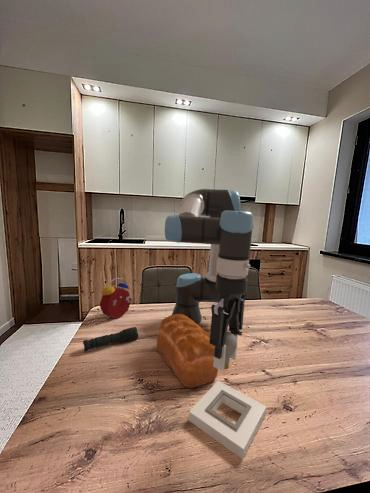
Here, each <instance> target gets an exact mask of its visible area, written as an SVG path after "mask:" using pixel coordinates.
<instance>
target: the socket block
mask: <svg viewBox="0 0 370 493" xmlns="http://www.w3.org/2000/svg"><path fill="white" fill-rule="evenodd" d="M223 404H224V405H226V406H227V407H229V408H230V409H232V410H234V411H236V412H238V413H239V414H241V415H240V416H239V418H238V419H237V421H236V422H235V423H233V422H232V421H231V420H229V419H227V418H226V417H224V416H222V415H221V414H219V413H218V412H217V410H219V408H220V406H222V405H223ZM266 414H267V406H266V405H264V404H262V403H261V402H259V401H257V400H256V399H253V398H251V397H249V396H248V395H246V394H244V393H243V392H240V391H238V390H236V389H234V388H233V387H231V386H229V385H227V384H226V383H223V381H220V380H217V381H216V382H215V383H214V384H213V385H212V386H211V388H209V389H208V391H206V393H205V394H204V395H203V396H202V397H201V398H200V399H199V400H198V401H197V403H195V405H193V407H192V408H191V409H190V410H189V413H188V422H190V423H192V424H193V425H194V426H195V427H197V428H199V429H200V430H201V431H203V432H205V434H207V435H208V436H210V437H211V438H213V439H214V440H215V441H216V442H218V443H219V444H220V445H222V446H223V447H225V448H226V449H228V450H229V451H230V452H232V453H233V454H235V455H236V456H237V457H238V458H240V459H242V460H243V459H244V457H245V456H246V453H247V452H248V449H250V448H249V447H250V446H251V444H252V442H253V441H254V438H255V436H256V434H257V432H258V430H259V428H260V427H261V425H262V423H263V421H264V419H265V418H266Z"/></svg>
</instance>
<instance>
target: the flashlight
mask: <svg viewBox="0 0 370 493" xmlns="http://www.w3.org/2000/svg"><path fill="white" fill-rule="evenodd" d="M138 338H139V332H138V328H137V326H132V327H129V328H124V329H123V330H121V331H119V332H116V333H110V334H104V335H100V336H96V337H94V338H91V339H84V340H82V344H83V348H84V349H83V353H86V352H89V351H90V350H95V349H98V348H102V347H106V346H110V345H114V344H117V343H123V342H126V343H127V342H130V341H134V340H137V339H138Z"/></svg>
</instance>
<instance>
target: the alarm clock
mask: <svg viewBox="0 0 370 493" xmlns="http://www.w3.org/2000/svg"><path fill="white" fill-rule="evenodd" d="M114 280H121V282H119V283H117V285H116V284H114V285H111V283H112V282H113V281H114ZM116 286H117V287H116ZM126 289H128V290H126ZM129 289H130V287H129V284H127V283H126V282H125V281H123V278H119V277H115V278H113V279H112V280H110V281H109V284H108V285H107V286H105V287H104V288H103V290H102V292H101V293H102V297H101V299H100V303H99V307H100V310H101V312H102V314H103V315H105V316H107V317H106V320H109V319H110V318H113V319H120V318H122V317H123V316H124V315H125V314H126V313H127V312H128V311H129V308H130V307H131V306H130V305H131V302H132V296H131V295H130V292H129Z"/></svg>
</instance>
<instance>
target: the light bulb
mask: <svg viewBox="0 0 370 493" xmlns="http://www.w3.org/2000/svg"><path fill="white" fill-rule="evenodd" d="M224 345H226V354H225V366H224V370H228V369H229V365H230V359H231V358H230V357H231V355H232V354H233V353H234V352H235V350H236V348H238V339H236V337H235V336H234V334H232V333H231V332H230V331H229V330H227V334H226V339H225V344H224ZM236 351H237V350H236Z"/></svg>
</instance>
